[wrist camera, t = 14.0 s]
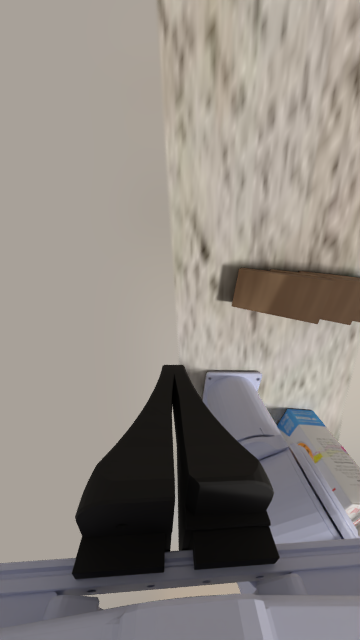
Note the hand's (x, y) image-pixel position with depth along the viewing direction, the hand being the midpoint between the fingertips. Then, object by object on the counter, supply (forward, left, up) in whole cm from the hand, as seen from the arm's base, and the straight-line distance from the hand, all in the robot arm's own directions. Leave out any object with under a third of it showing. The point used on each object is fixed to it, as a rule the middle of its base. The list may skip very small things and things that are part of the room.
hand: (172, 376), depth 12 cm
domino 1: (+4, -7, -10) cm, 13 cm away
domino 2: (+4, -10, -10) cm, 15 cm away
